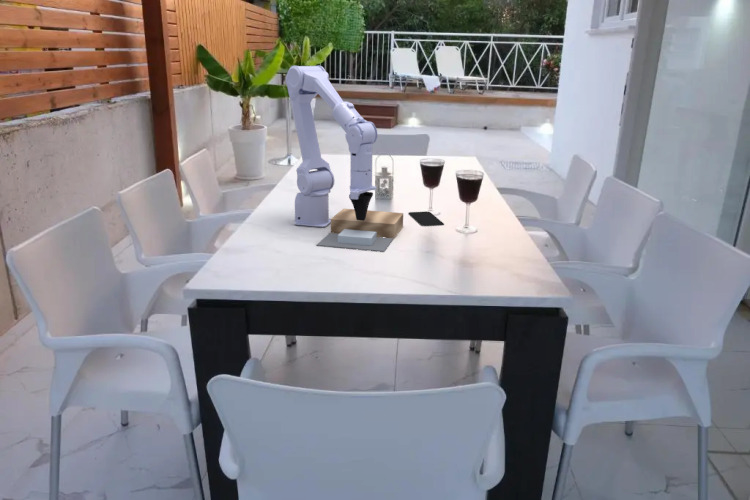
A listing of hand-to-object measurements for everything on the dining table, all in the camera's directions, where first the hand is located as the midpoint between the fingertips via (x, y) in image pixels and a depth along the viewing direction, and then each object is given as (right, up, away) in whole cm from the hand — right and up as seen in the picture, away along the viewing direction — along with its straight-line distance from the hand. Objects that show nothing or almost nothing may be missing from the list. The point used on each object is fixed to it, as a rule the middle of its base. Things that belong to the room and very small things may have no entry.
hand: (361, 219), depth 159 cm
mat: (-1, -6, -3) cm, 7 cm away
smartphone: (+19, +1, +20) cm, 28 cm away
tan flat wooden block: (+2, -2, +8) cm, 9 cm away
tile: (-1, -4, -3) cm, 5 cm away
